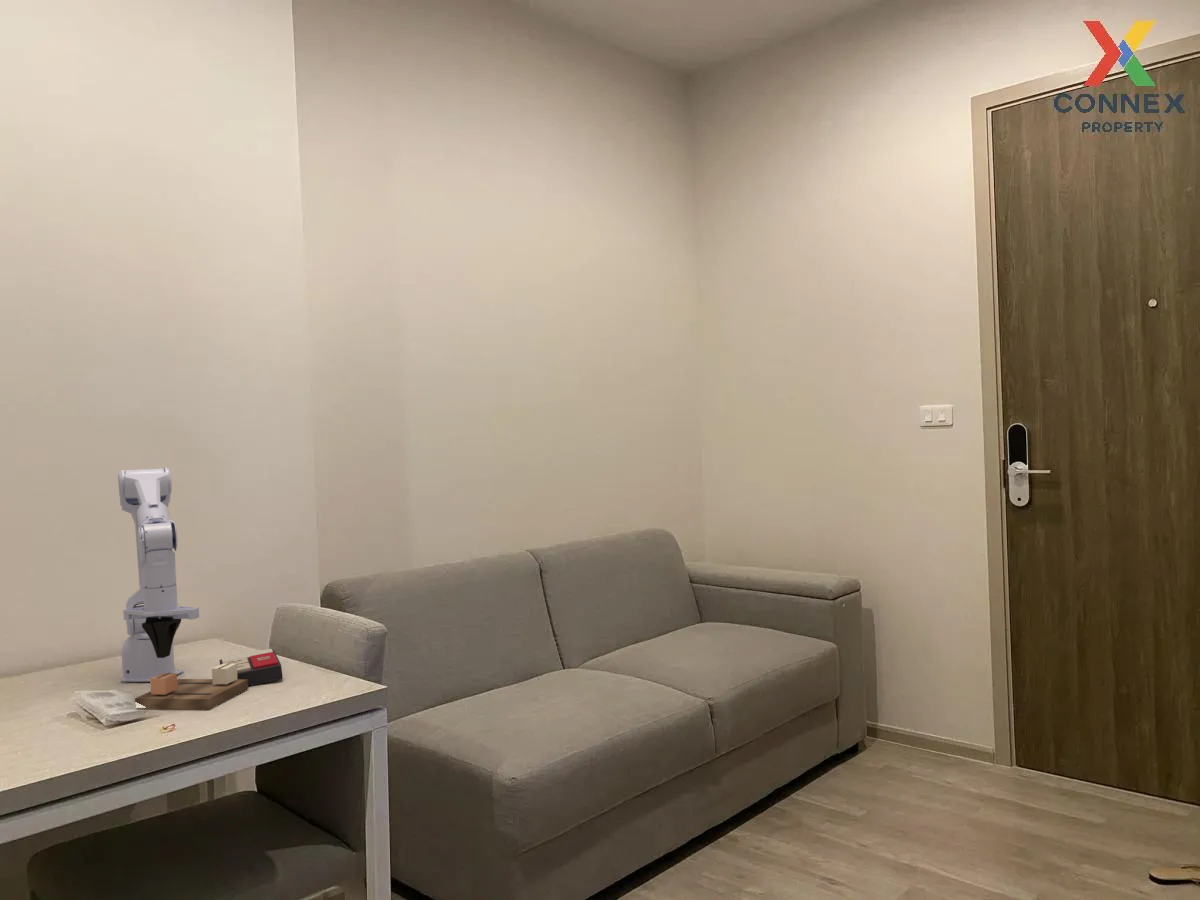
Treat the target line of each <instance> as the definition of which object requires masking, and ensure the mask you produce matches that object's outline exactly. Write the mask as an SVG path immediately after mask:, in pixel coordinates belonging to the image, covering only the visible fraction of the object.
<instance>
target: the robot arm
mask: <svg viewBox="0 0 1200 900" xmlns="http://www.w3.org/2000/svg"><path fill="white" fill-rule="evenodd" d="M117 474H118V475H117V477H118V478H117V480H118V483H117V484H118V494H119V495H118V496H119V505H120V506H121V510H122V511H124V512H126V513H129V514H130V516H131V517H132V520H133V523H134V527H135V530H134V531H135V543H136V553H137V554H136V556H137V570H138V571H137V572H138V573H137V574H138V583H139V584H138V585H139V586H138V587H139V589H138V590H137V591H135V592H134V593H133V594H131V596H129V597H128V599H127V601H126V603H125V605H126V606H125V609H123V620H124V621H125V622H126V632H127V635H128V637H127V638H126V639H125V640H124V641H123V643H122V647H121V665H122V667H121V668H122V678H120V681H119V682H125V683H127V682H129V683H131V682H133V683H134V682H135V683H138V682H139V683H140V682H143V683H146V682H147V683H148V682H149V683H150V678H152V677H155V676H157V675H160V674H162V673H177V676H178V675H180V674H182V673H185V670H184V669H175V654H174V653H175V652H174V637H175V635H176V634H177V630H178V629H180V626H181V625H180V624H181V622H182V619H185V620H189V621H190V620H191V621H192V620H195V619H198V618H200V608H199V607H193V606H192V607H190V606H181V605H179V603H178V591H177V590H178V589H177V570H176V552H177V550H178V549H177V548H178V530H177V525H176V523H175V521H174V520H173V519H172V520H171V516H170V512H169V504H170V502H171V495H172V490H173V489H172V474H171V470H170V469H169V468H168V467H164V468H147V469H146V468H145V469H128V470H127V469H126V470H124V469H120V471H118V473H117ZM173 550H174V551H173Z"/></svg>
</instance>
